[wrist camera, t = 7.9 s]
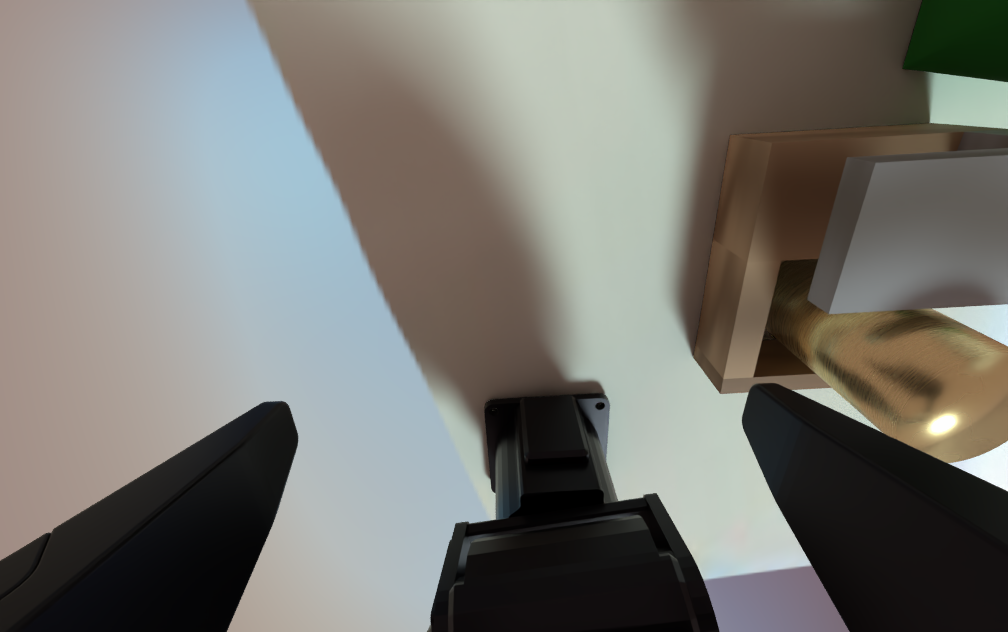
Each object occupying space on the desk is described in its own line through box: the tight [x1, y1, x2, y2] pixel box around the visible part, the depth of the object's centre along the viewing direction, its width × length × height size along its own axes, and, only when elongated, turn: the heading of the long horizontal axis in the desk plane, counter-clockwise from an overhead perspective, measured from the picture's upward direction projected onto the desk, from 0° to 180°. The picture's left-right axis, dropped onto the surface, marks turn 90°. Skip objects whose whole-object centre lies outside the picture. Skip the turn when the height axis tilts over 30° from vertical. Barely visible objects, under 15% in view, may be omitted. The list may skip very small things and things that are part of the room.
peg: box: [765, 259, 1008, 463], centre depth 17 cm, size 4×4×9 cm
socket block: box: [693, 123, 1008, 394], centre depth 17 cm, size 10×8×8 cm
